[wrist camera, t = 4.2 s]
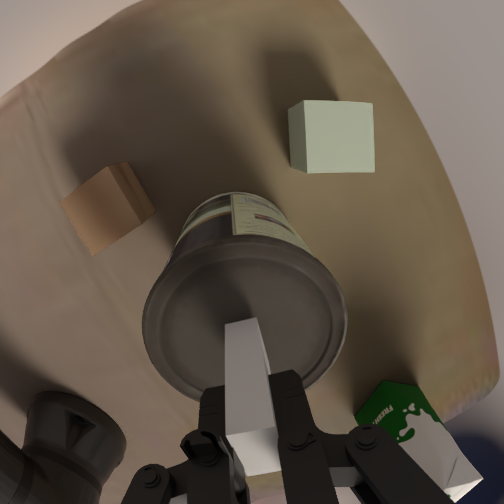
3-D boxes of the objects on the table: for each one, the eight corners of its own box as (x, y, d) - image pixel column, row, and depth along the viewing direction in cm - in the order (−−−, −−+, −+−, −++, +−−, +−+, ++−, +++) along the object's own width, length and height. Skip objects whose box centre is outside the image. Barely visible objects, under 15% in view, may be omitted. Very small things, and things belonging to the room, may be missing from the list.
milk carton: (381, 373, 35) (455, 501, 16) (427, 381, 37) (498, 486, 18) (344, 420, 37) (392, 544, 18) (392, 425, 39) (443, 528, 20)
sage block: (290, 167, 26) (307, 173, 21) (287, 109, 25) (303, 100, 19) (345, 165, 27) (374, 172, 21) (343, 110, 25) (372, 103, 19)
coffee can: (185, 303, 30) (162, 413, 16) (174, 194, 26) (123, 244, 13) (293, 298, 30) (336, 401, 17) (295, 189, 27) (358, 233, 14)
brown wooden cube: (113, 238, 27) (92, 256, 23) (85, 192, 26) (59, 202, 21) (156, 210, 27) (142, 224, 22) (127, 161, 25) (107, 165, 21)
